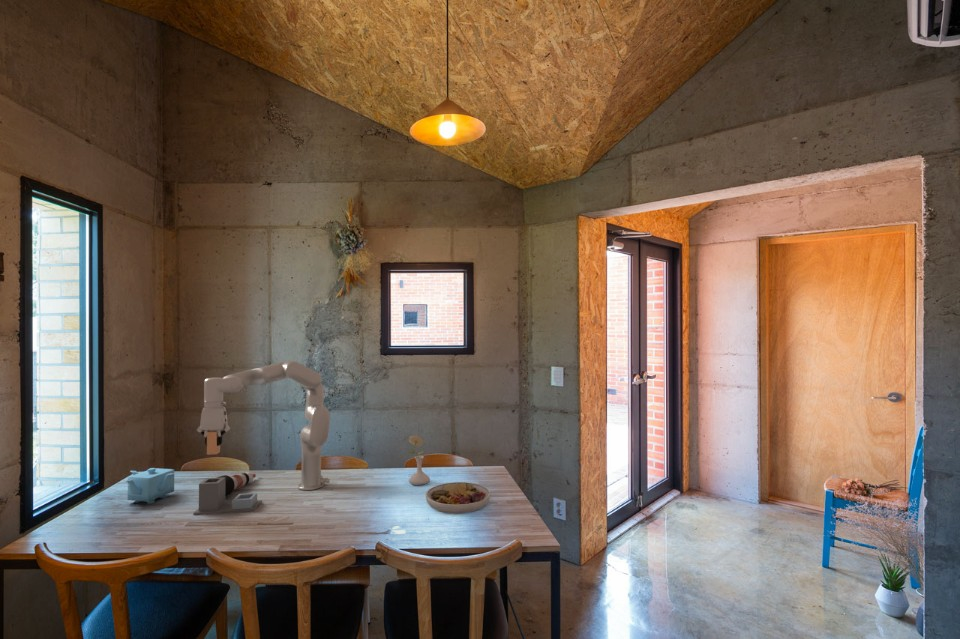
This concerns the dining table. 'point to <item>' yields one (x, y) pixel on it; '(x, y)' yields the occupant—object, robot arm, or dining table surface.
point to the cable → (237, 481)
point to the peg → (212, 442)
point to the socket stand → (223, 499)
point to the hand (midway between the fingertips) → (213, 444)
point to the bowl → (457, 497)
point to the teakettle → (150, 484)
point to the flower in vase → (418, 463)
